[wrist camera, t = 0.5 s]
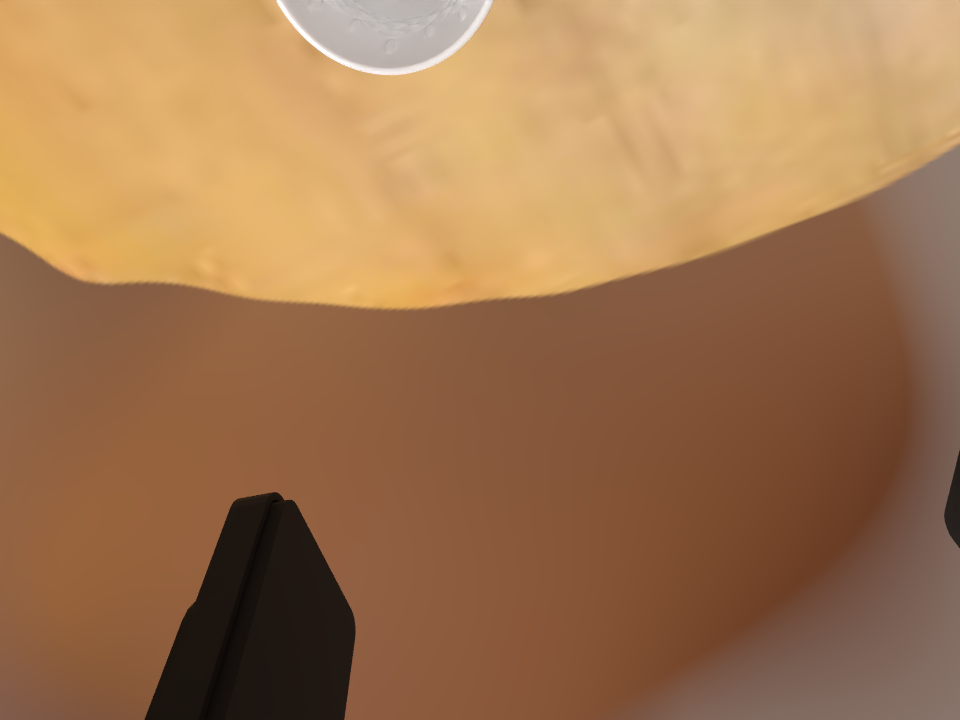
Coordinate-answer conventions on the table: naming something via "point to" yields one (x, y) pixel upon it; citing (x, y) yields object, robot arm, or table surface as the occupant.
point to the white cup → (387, 30)
